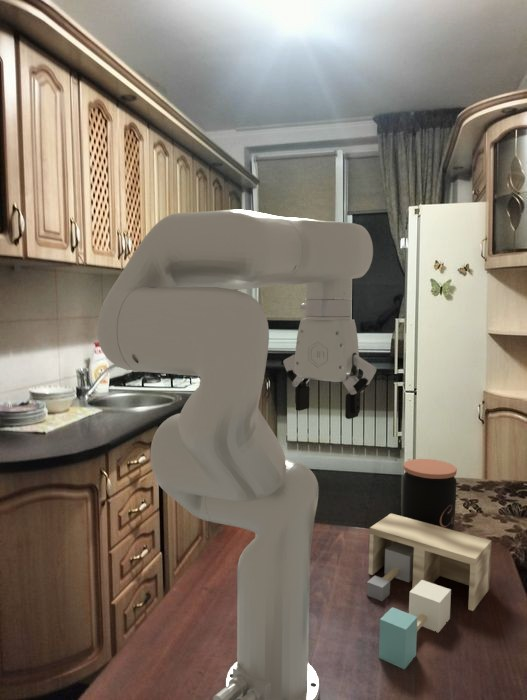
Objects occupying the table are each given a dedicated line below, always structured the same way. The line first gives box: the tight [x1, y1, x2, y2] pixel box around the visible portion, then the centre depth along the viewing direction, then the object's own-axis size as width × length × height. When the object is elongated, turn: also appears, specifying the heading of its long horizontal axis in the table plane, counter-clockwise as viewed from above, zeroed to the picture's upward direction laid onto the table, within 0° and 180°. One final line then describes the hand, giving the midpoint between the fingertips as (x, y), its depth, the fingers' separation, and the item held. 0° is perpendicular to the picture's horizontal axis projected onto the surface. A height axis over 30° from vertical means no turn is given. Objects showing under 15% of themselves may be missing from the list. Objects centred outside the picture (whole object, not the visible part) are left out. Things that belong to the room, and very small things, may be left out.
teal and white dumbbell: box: [378, 580, 452, 670], centre depth 85 cm, size 16×5×6 cm, turn 141°
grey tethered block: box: [366, 542, 414, 602], centre depth 101 cm, size 14×5×5 cm, turn 141°
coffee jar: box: [401, 458, 458, 531], centre depth 114 cm, size 11×11×18 cm
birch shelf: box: [368, 512, 492, 612], centre depth 101 cm, size 9×20×9 cm, turn 51°
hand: (326, 413), depth 91 cm, fingers open, 9 cm apart
